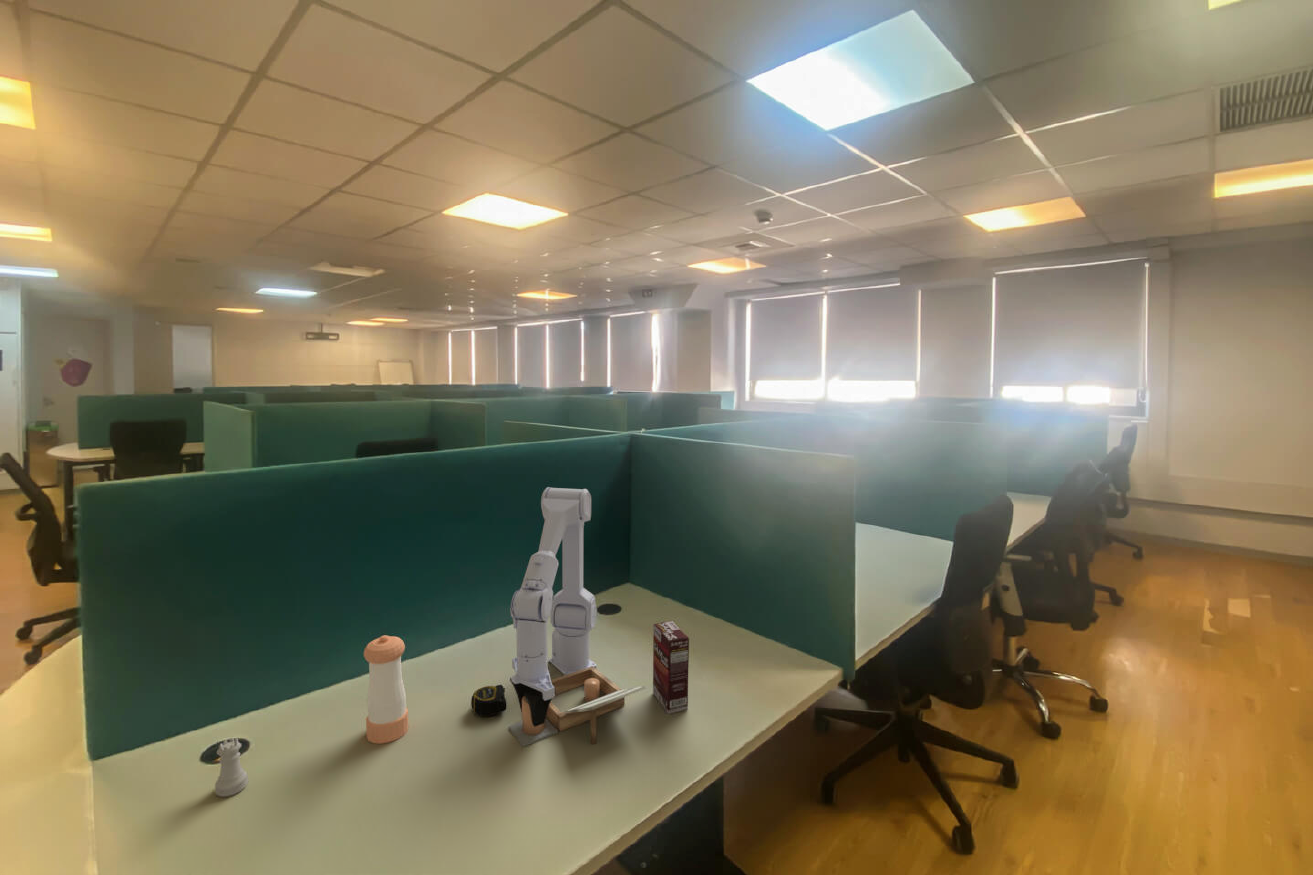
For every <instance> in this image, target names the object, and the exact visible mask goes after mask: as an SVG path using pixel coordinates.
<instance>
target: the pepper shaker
mask: <svg viewBox="0 0 1313 875" xmlns="http://www.w3.org/2000/svg"><path fill="white" fill-rule="evenodd" d="M405 648H406V645H405V643H404V640H402V639H401V638H400V637H398V636H394V635H393V636H392V635H391V636H390V635H387V634H386V635H385V634H384V635H382V636H379V637H378V638H376V639H373V640H372V641H370V642H369V643H368V644H367V645H366V646H365V648H364V651H363V657H364V659H365V660H366V661H367V663H368V669H369V671H368V672H369V673H368V674H369V684H368V692H367V699H366V703H367V704H366V705H367V717H366V719H365V726H366V739H367V740H368V741H369V742H371V743H373V744H381V745H382V744H388V743H390V742H394V741H396V740H399V739H401V738H402V737H403V736H405V735H406V733H407V732H408V730H409V727H410V726H409V724H410V723H409V710H408V708H407V704H406V703H407V702H406V701H407V698H406V696H407V695H406V689H405V685H404V682H403V677H402V676H403V675H402V656H403V654H404V653H405Z"/></svg>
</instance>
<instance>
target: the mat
mask: <svg viewBox="0 0 1313 875" xmlns="http://www.w3.org/2000/svg"><path fill="white" fill-rule="evenodd" d="M508 729H509V731H510V732H511V733H512V734H513V736H515V738H516V739H517V741H519V743H520V744H521V746H523V747H527V746H529V745H531V744H534V743H535V742H538V741H541V740H543V739H546V738H548V737H551V736H553V735H556V734H558V733H559V732H558V731H559V730H558V729H557V728H556V727H555V726H554V725H553V724H552V723H551V722H550V720H549V719H548V718H547V717H546V718H545V730H544V731H543V732H541V733H539V734H537V735H527V734H525V733H524V732H523V731H522V720H521V721H517V722H515V723H512V724H510V725H508Z"/></svg>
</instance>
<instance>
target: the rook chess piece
mask: <svg viewBox="0 0 1313 875" xmlns="http://www.w3.org/2000/svg"><path fill="white" fill-rule="evenodd" d="M241 747H242V743H240V742H239V739H238V738H235V739H234V737H233V738H230V739H229V741H228V740H227V739H226V740H224V741H222V743H220V744H219V745H218V749H217V751H216V754H217V755H218V756H220V758H219V759H218V762H219V764H220V771H219V772H220V774H219V775H218V777H217V780H216V782H215V784H214V787H215V788H214V789H215V790H214V793H215V794H216V795H217V796H218V797H220V798H228V797H231V796H235V795H237V794H238V793H240V792H242V791H243V790H244V789H245V788H246V786H247V785H248V783H249V778H248V772H247V771H245V770H244V768H243V767H242V766H241V762H240V756H241V752H239V750H240V749H241Z"/></svg>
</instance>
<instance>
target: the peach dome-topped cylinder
mask: <svg viewBox="0 0 1313 875" xmlns="http://www.w3.org/2000/svg"><path fill="white" fill-rule="evenodd" d="M521 721H522V731H523V732H524V733H525V734H527V735H537V734H539V733H541V732H543V731H544V730H545V722H544V723H543V724H541V725H538V726H536V727H534V726H533V723H532V719H531V712H530V707H529V703H528V701H527V699H526V697H525V696H524V697H523V698H522V711H521Z"/></svg>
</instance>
